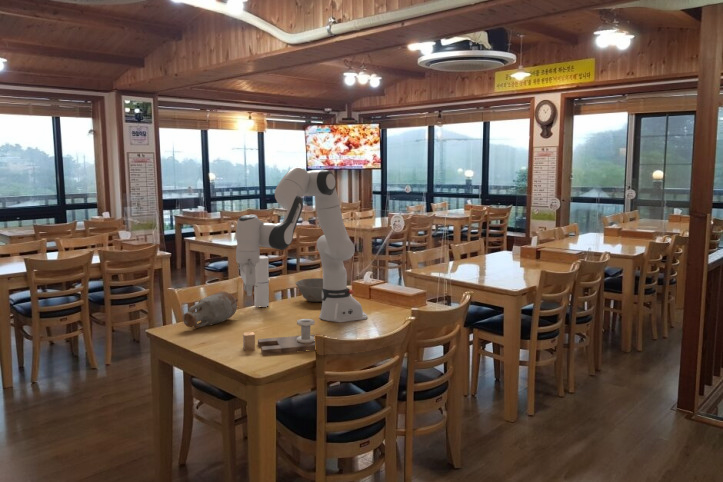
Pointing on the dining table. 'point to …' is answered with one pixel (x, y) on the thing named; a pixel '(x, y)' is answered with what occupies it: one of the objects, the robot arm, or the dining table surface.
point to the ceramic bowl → (311, 289)
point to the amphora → (211, 310)
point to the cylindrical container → (262, 283)
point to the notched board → (283, 345)
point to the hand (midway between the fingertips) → (247, 293)
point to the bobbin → (305, 330)
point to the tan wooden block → (249, 341)
